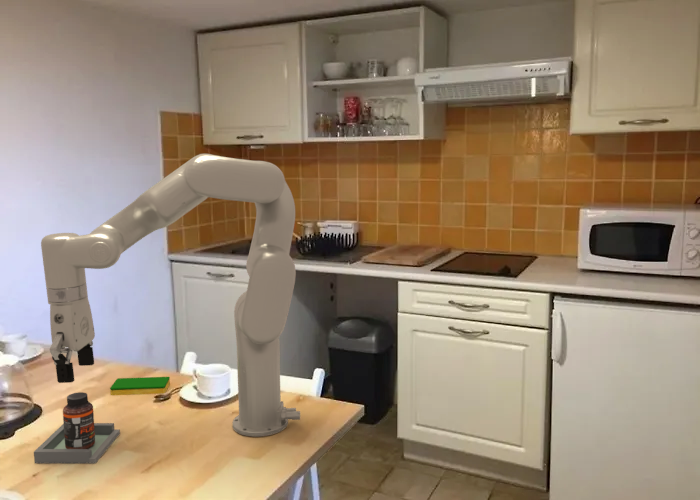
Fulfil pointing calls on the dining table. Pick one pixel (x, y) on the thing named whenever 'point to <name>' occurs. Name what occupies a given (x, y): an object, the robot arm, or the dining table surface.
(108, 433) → the dock bay
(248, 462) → the dining table surface
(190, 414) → the dining table surface
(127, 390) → the dish sponge
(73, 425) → the supplement bottle
